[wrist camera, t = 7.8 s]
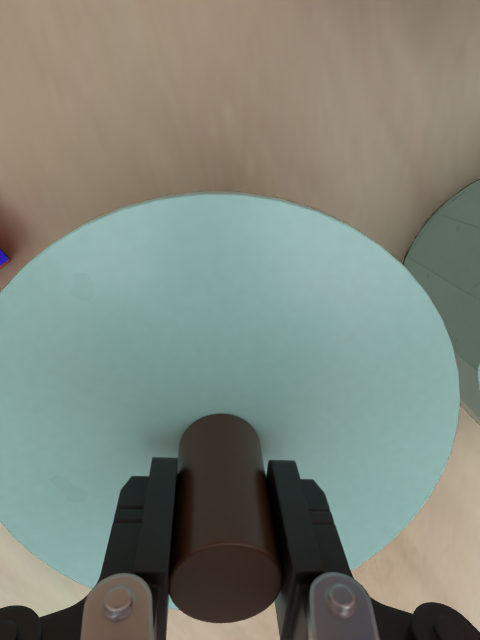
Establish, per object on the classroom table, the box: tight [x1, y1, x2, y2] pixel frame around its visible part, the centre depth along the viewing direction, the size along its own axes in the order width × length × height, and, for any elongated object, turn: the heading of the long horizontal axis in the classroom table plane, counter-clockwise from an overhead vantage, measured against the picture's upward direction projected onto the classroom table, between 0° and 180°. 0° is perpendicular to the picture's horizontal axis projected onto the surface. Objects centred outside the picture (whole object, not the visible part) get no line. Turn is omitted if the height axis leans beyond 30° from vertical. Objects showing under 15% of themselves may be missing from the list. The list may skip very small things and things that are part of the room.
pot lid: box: [0, 191, 460, 623], centre depth 13 cm, size 16×16×6 cm
